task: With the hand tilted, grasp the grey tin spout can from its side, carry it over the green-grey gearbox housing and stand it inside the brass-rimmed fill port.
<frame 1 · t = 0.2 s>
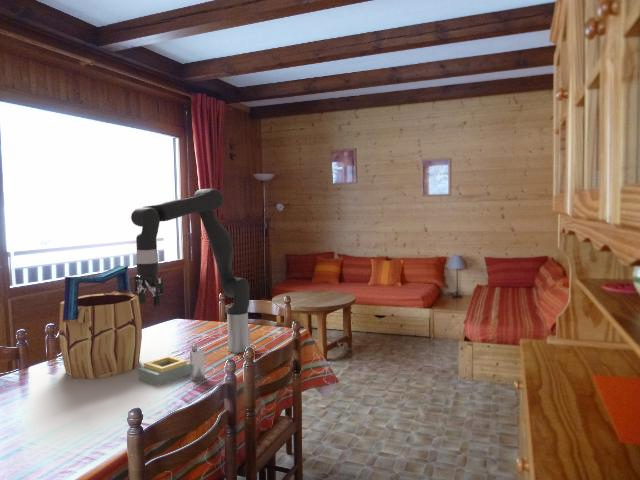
hand: (149, 304, 175), 29 cm above the table, fingers open, 8 cm apart
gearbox: (166, 375, 181), on the table
bucket: (103, 368, 192), on the table
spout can: (198, 378, 177), on the table
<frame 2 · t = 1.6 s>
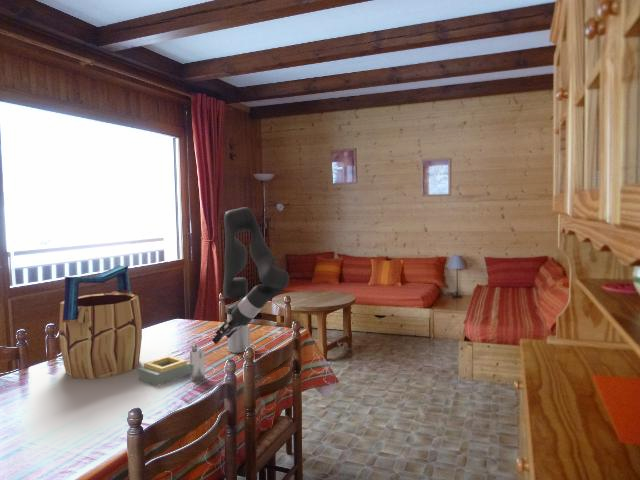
hand: (220, 339, 173), 16 cm above the table, fingers open, 8 cm apart
nothing on the table moved.
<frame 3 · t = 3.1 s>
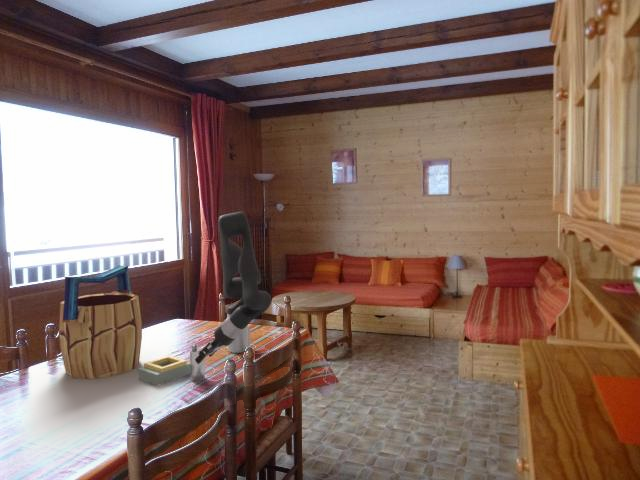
hand: (202, 358, 176), 8 cm above the table, fingers open, 8 cm apart
nothing on the table moved.
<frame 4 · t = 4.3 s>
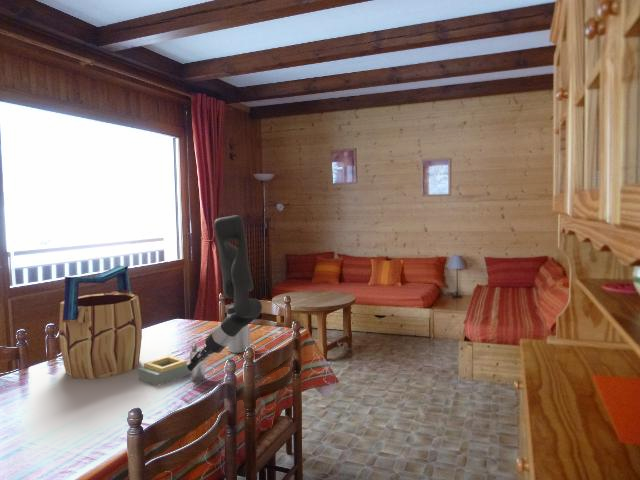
hand: (193, 366, 178), 5 cm above the table, fingers closed on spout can, 5 cm apart
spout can: (198, 378, 177), on the table, touching gripper
everything else where it was.
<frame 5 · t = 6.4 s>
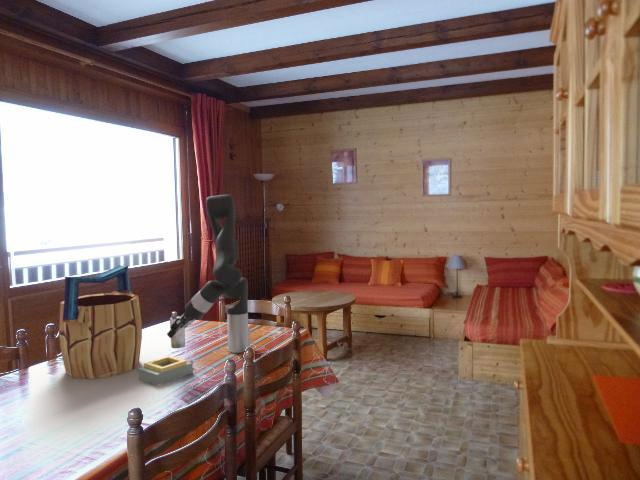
hand: (173, 333, 179), 17 cm above the table, fingers closed on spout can, 5 cm apart
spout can: (178, 346, 179), point 12 cm above the table, touching gripper
everything else where it was.
when the fingers open (9 cm above the table, at t = 8.8 s): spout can drops 1 cm, resting on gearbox.
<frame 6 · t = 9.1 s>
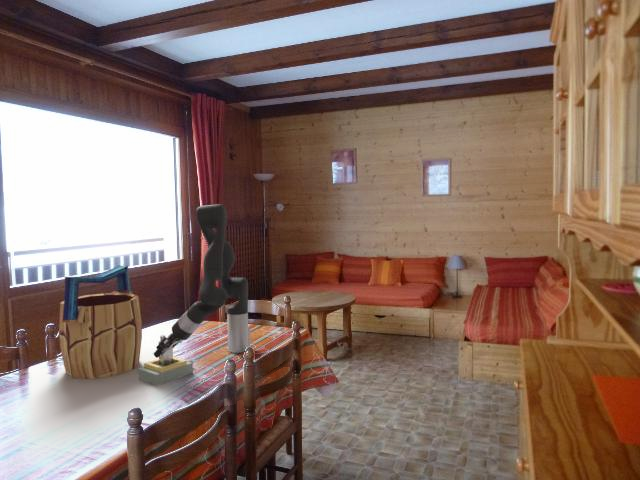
hand: (161, 352, 181), 9 cm above the table, fingers open, 7 cm apart
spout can: (166, 369, 181), point 3 cm above the table, touching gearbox
everything else where it was.
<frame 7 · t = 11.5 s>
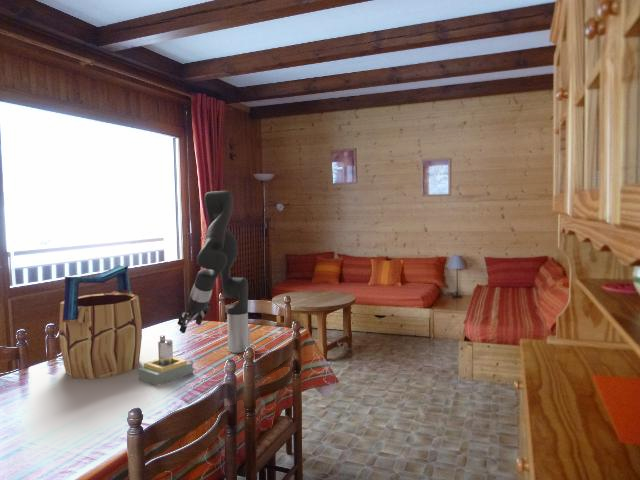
hand: (190, 327, 183), 18 cm above the table, fingers open, 8 cm apart
nothing on the table moved.
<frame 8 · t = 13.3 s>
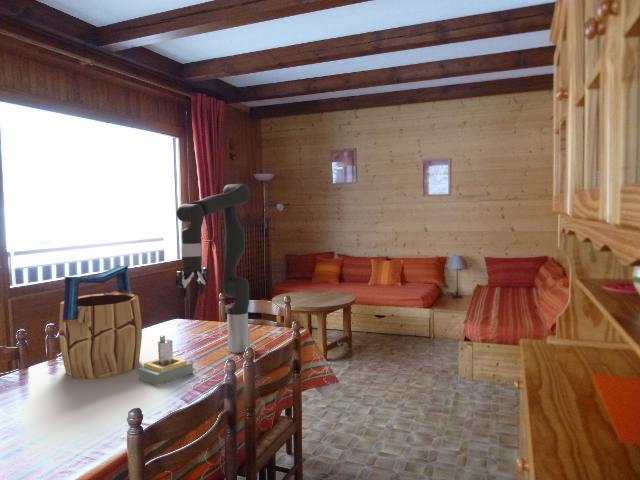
hand: (193, 295, 186), 30 cm above the table, fingers open, 8 cm apart
nothing on the table moved.
at the end: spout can 0.1 cm off-centre on the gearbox, point 2.5 cm above the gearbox's base; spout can tilted 1°; the gripper is holding nothing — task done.
